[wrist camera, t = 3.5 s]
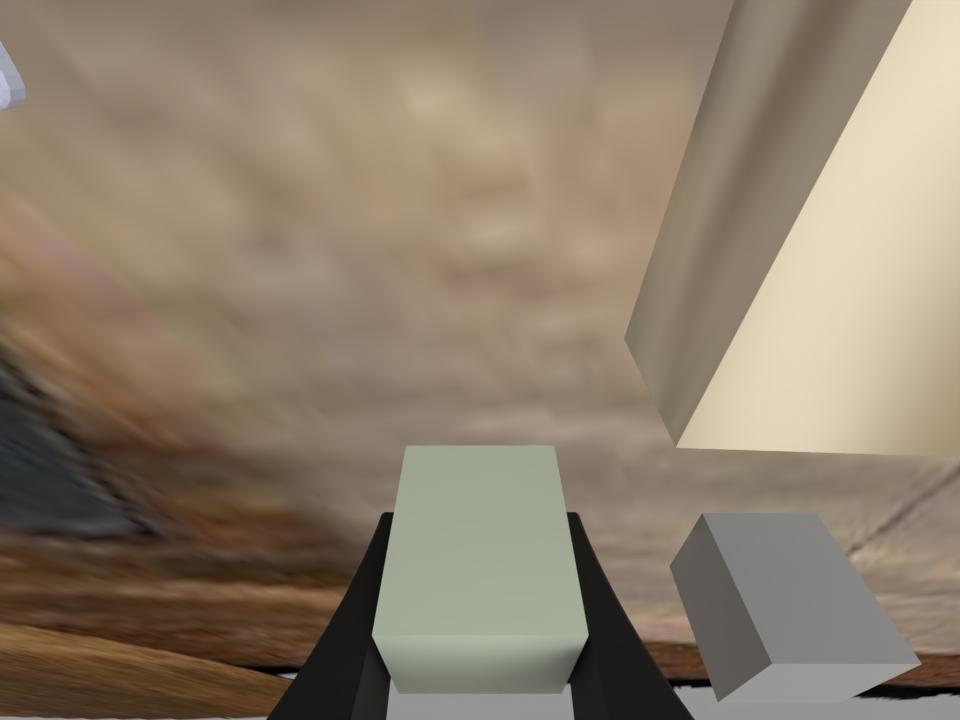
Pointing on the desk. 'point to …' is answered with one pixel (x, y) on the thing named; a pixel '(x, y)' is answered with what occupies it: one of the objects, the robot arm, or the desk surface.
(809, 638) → the grey cube
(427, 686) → the sage cube
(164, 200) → the desk surface
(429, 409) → the desk surface
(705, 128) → the birch block
